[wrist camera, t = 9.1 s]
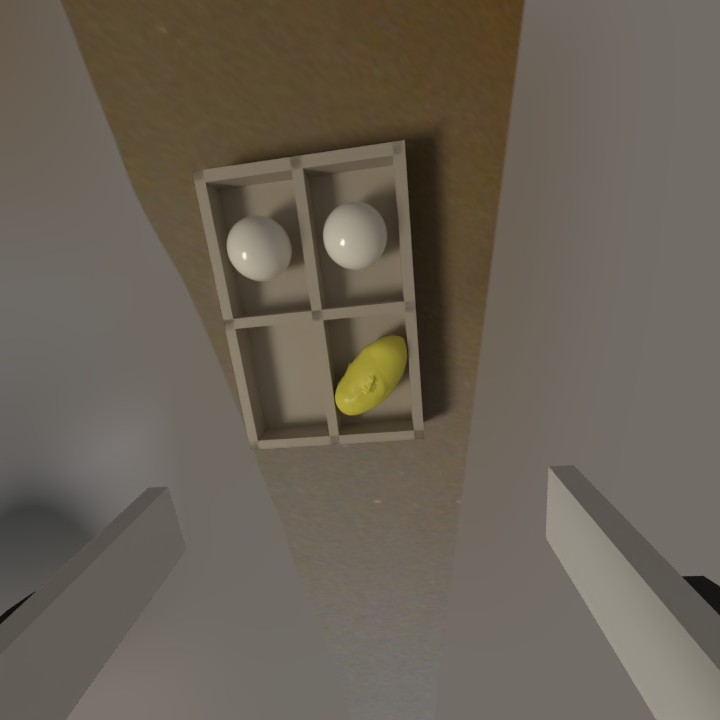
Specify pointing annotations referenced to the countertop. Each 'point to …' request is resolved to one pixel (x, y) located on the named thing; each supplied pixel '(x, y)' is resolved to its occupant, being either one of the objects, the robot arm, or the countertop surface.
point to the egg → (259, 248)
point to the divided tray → (315, 296)
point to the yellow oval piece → (372, 375)
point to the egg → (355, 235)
